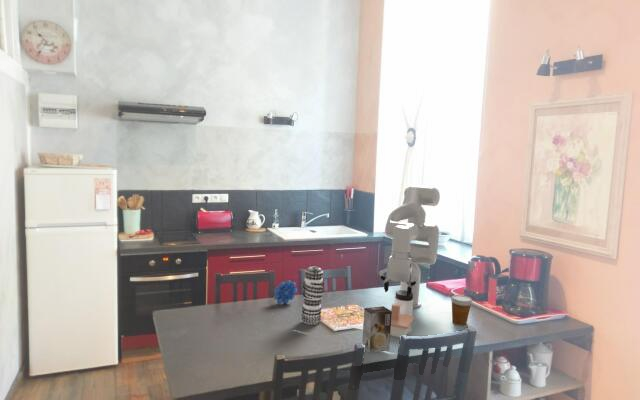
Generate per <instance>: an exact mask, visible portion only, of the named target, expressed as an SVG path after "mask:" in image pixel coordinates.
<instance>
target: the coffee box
mask: <svg viewBox="0 0 640 400" xmlns="http://www.w3.org/2000/svg"><path fill="white" fill-rule="evenodd" d="M363 310H364V311H363V318H364V322H363V330H362V337H361V338H362V340H361V341H362V342H361V345H362V344H363V345H365V349H364V350H365V351H366V352H368V353H369V354H372V353H379V352H385V351H387V350H390V345H391V344H390V343H391V341H390V340H391V335H390V330H391V315H392V311H391V310H390V309H388V307H385V306H374V307H365V308H363Z"/></svg>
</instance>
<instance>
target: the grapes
mask: <svg viewBox="0 0 640 400" xmlns="http://www.w3.org/2000/svg"><path fill="white" fill-rule="evenodd" d="M274 293H275V294H274V296H273V299H274V300H276V302H277V304H284V305H286V304H288V303H289V302H290V301H293V299H295V294H297V293H298V289H297V284H296V281H295V282H292V280H291V279H287V280H286V281H281V282H280V283H279V284H278V286H277V287H276V288H275V289H274Z"/></svg>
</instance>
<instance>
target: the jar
mask: <svg viewBox="0 0 640 400" xmlns="http://www.w3.org/2000/svg"><path fill="white" fill-rule="evenodd" d="M393 300H394V301H393V304H394V303H395V304H400V314H405V315H410V316H413V309H414V308H413V293H412V292H411V294H410V295H409V296H407V291H404V290H396V291H395V296H394V299H393Z"/></svg>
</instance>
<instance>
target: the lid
mask: <svg viewBox="0 0 640 400" xmlns="http://www.w3.org/2000/svg"><path fill="white" fill-rule="evenodd" d="M390 311H392V315H391V326H394V327H398V328H403V329H408V327H409V326H410V325H411V326H412V323H413V322H414V321H415V319H416V317H415V316H413V315H412V316H410V315H405V314H400V304H395V303H394V302H393V303H392V304H391V310H390Z"/></svg>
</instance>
